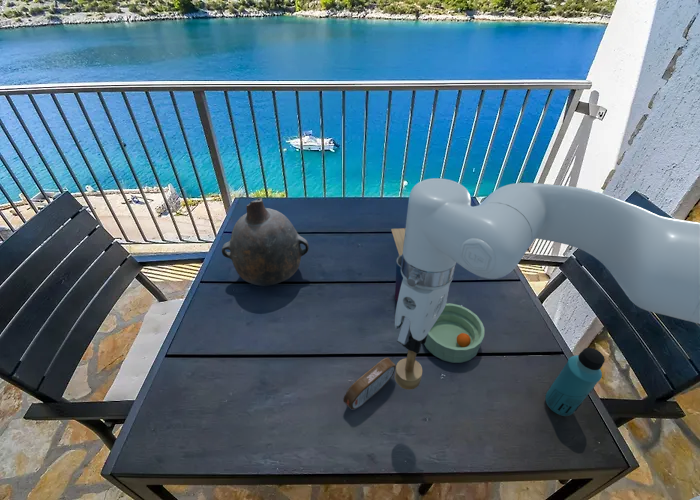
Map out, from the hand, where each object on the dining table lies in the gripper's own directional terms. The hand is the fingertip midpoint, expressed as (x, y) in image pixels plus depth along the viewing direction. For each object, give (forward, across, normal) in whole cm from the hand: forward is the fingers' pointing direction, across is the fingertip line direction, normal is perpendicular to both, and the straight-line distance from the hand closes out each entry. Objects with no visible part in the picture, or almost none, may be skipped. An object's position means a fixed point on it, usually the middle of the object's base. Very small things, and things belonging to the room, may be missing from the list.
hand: (413, 343), depth 61 cm
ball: (+26, +28, -4) cm, 38 cm away
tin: (+28, +2, +9) cm, 30 cm away
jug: (+28, +17, +59) cm, 68 cm away
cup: (+28, +34, +18) cm, 47 cm away
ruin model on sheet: (+28, +60, +26) cm, 71 cm away
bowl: (+28, +28, 0) cm, 40 cm away
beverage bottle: (+29, +24, -28) cm, 47 cm away
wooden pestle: (+11, 0, 0) cm, 11 cm away
